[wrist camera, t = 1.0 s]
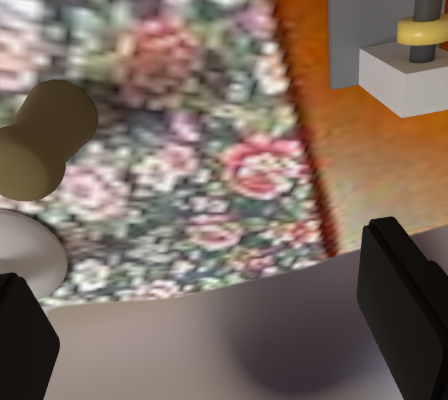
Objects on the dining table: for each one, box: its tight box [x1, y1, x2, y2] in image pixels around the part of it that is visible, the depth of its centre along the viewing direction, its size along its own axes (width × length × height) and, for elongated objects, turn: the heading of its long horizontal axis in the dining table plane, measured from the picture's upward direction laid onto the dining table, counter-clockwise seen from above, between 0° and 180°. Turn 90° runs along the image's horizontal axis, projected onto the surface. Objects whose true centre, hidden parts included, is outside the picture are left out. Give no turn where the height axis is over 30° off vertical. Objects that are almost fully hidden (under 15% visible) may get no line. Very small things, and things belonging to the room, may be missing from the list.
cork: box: [0, 80, 98, 201], centre depth 29 cm, size 6×6×11 cm
